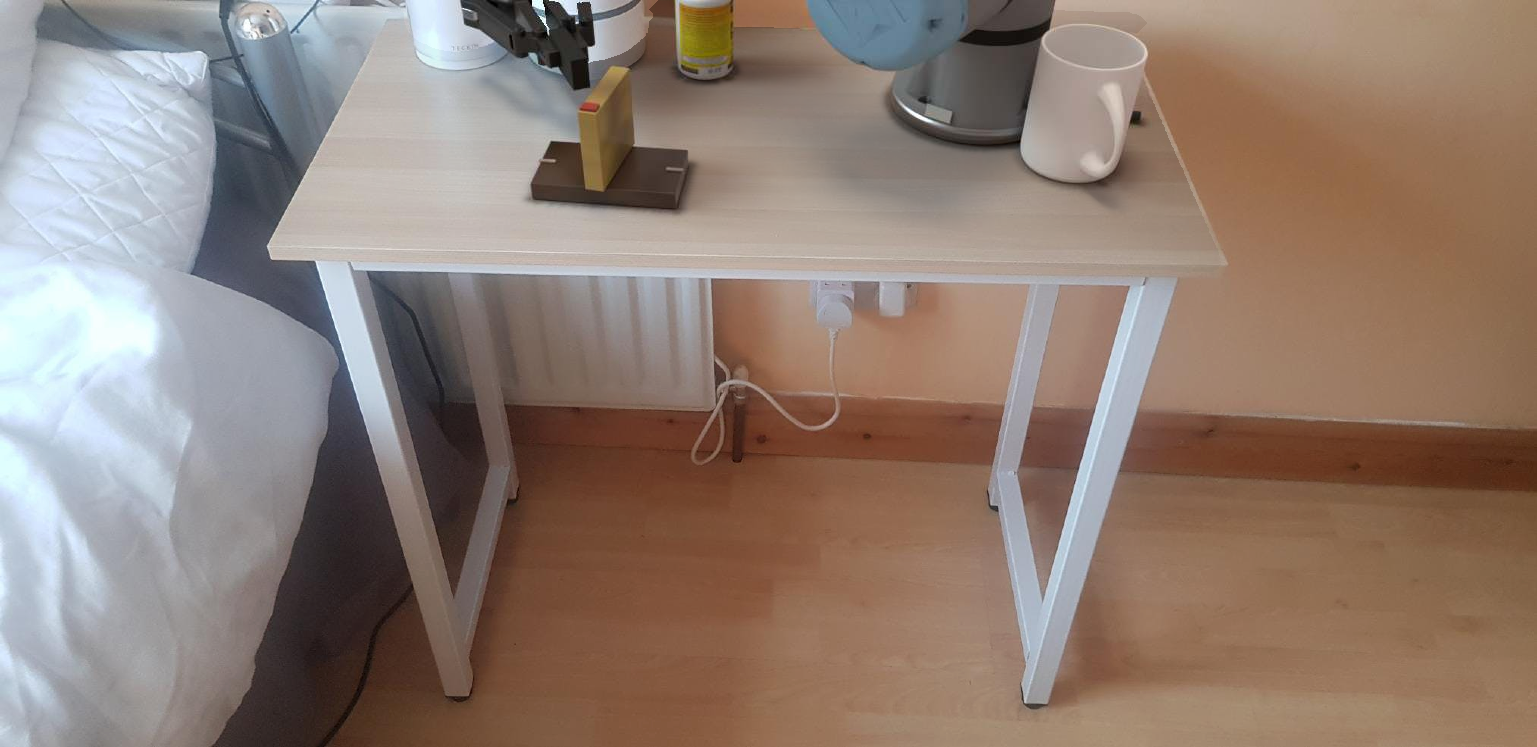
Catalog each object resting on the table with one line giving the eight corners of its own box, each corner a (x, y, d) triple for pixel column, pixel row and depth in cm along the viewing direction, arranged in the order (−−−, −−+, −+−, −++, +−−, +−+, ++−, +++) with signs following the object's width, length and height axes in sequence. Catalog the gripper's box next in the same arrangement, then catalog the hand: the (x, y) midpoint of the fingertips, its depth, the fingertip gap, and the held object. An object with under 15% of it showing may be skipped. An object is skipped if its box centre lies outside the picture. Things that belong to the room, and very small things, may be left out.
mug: (1052, 212, 90) (1080, 93, 82) (1005, 138, 98) (1026, 26, 91) (1149, 204, 91) (1185, 87, 84) (1094, 132, 100) (1122, 20, 92)
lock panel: (689, 164, 94) (689, 148, 93) (677, 209, 89) (676, 192, 88) (551, 155, 95) (549, 138, 94) (531, 199, 89) (528, 181, 88)
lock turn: (617, 140, 94) (611, 62, 89) (635, 143, 93) (629, 65, 89) (585, 189, 88) (576, 108, 83) (603, 192, 88) (596, 111, 83)
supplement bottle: (741, 77, 106) (741, -26, 99) (686, 86, 105) (683, -18, 98) (723, 53, 110) (722, -48, 103) (670, 61, 109) (666, -41, 102)
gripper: (575, -1, 112) (655, 100, 96) (448, 19, 107) (510, 129, 92) (568, -76, 107) (651, 19, 91) (434, -57, 102) (497, 45, 87)
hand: (580, 74), depth 91 cm, fingers closed
